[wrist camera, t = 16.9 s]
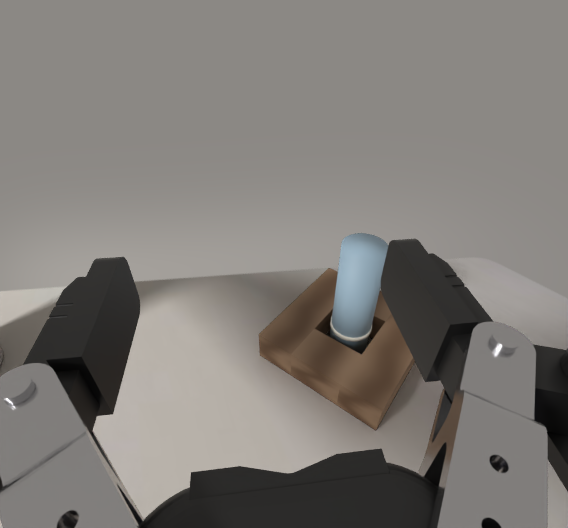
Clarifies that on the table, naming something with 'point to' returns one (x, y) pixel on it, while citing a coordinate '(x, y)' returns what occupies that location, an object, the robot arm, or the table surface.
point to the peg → (357, 289)
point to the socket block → (338, 353)
